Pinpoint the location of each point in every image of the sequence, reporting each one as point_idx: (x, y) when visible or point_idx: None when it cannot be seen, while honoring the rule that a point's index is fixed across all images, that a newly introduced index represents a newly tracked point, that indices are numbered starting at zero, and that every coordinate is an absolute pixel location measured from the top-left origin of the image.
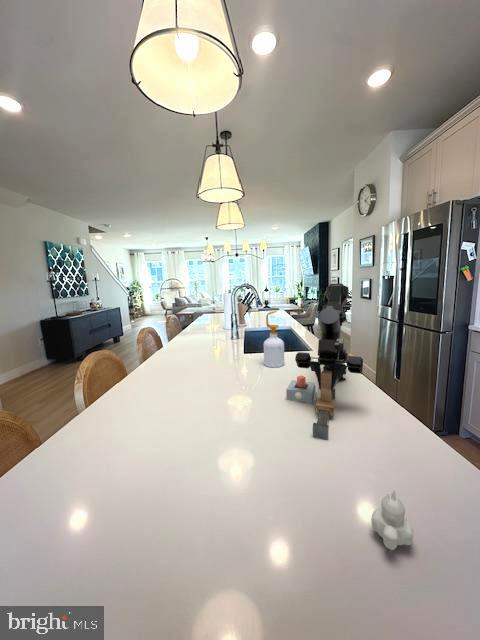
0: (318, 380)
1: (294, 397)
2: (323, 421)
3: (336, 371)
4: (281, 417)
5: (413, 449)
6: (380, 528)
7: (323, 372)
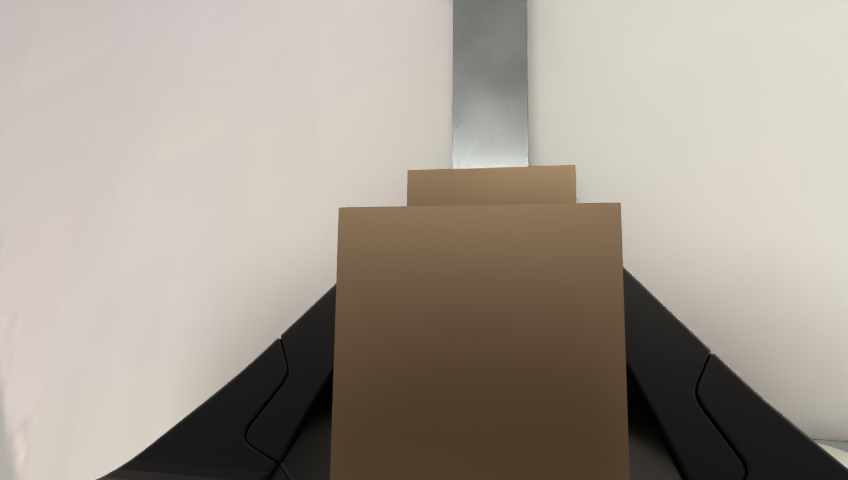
0: (633, 293)
1: (840, 452)
2: (479, 10)
3: (205, 463)
4: (831, 98)
5: (58, 65)
6: None
7: (563, 355)
